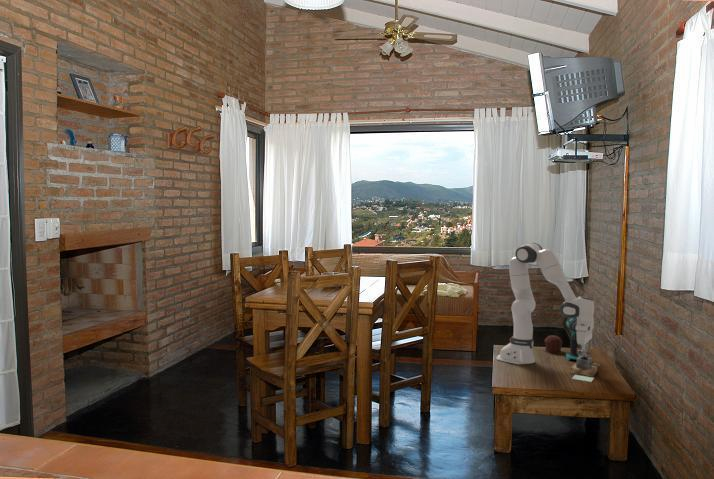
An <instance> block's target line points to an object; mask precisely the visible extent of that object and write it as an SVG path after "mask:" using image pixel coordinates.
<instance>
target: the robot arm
mask: <svg viewBox="0 0 714 479" xmlns="http://www.w3.org/2000/svg"><path fill="white" fill-rule="evenodd" d="M530 263H536V264H537V265H538V266H539V268H540V270H541V273H542V275H543V277H544V278H545V280H546V281H548V283H551V284H553V285H555V286H556V287H557V288H558V289H559V291H560V293H561V294H562V297H563V298H564V302H562V303H561V304H560V306H559V313H560V314H561V316H562V317H563V318H567V319H568V318H576V319H577V325H576V330H577V343H578V345H581V350H586V347H585V345H587V347H588V345H589V342H590V340H592V339H593V330H594V328H595V325H594V324H595V320H594V314H595V302H594V300H593V299H592V297H589V296H586V295H585V296H584V295H579V296H576V294H575V292H574V290H573V289H572V286H571V285H570V282H569V281H568V278H567V277H566V275H565V272H564V269H563V268H562V265H561V263H560V261H559V259H558V257H557V256H556V254H555V253H554V252H553V250H552V249H550V248H544V249H543V247H542V246H541V245H540V244H539V243H536V242H531V243H530V242H528V243H525V244H523V245H521V246H518V248H517V249H516V251H515V256H513V257H511V258H510V259H509V264H508V265H509V266H508V269H509V270H508V272H509V279H510V287H511V290H512V292H513V295H514V298H515V300H514V301H513V302H512V304H511V307H510V310H511V312H512V322H513V335H512V336H511V337H510V338H509V342H508V343H507V344H506V345H504V347H502V348H501V350H500V352H499V353H500V354H498V355H497V356H496V360H497V361H501V362H505V363H510V364H515V365H529V364H534V363H535V362H536V361H535V357H534V350H533V348H534V337H533V335H534V325H533V321H532V313H533V312H534V310H535V309H536V305H537V304H536V300H535V297H534V294H533V290H532V286H531V279H530V276H529V275H530V274H529V264H530Z"/></svg>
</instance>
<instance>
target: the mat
mask: <svg viewBox="0 0 714 479" xmlns="http://www.w3.org/2000/svg"><path fill="white" fill-rule="evenodd" d="M571 380H576V381H582V382H587V383H592V382H593V380H595V377H594V376H593V377H592V376H585V375H579V374H573V376H572V378H571Z"/></svg>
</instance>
